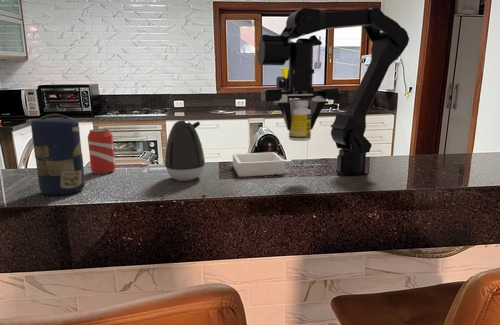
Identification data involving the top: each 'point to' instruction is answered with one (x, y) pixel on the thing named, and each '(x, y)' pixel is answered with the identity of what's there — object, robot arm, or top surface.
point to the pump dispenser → (184, 152)
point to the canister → (58, 154)
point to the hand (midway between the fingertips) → (299, 129)
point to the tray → (258, 164)
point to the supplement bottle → (300, 121)
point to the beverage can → (101, 151)
